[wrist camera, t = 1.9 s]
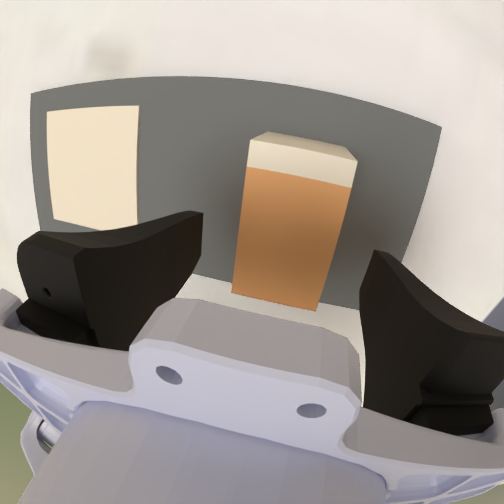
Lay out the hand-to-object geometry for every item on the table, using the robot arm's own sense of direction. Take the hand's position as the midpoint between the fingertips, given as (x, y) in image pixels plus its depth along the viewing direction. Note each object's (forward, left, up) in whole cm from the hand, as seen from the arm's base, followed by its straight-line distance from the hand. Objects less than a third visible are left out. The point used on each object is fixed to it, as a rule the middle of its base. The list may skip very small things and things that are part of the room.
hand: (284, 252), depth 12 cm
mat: (0, +8, -7) cm, 11 cm away
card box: (0, 0, -7) cm, 7 cm away
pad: (0, +16, -7) cm, 18 cm away
